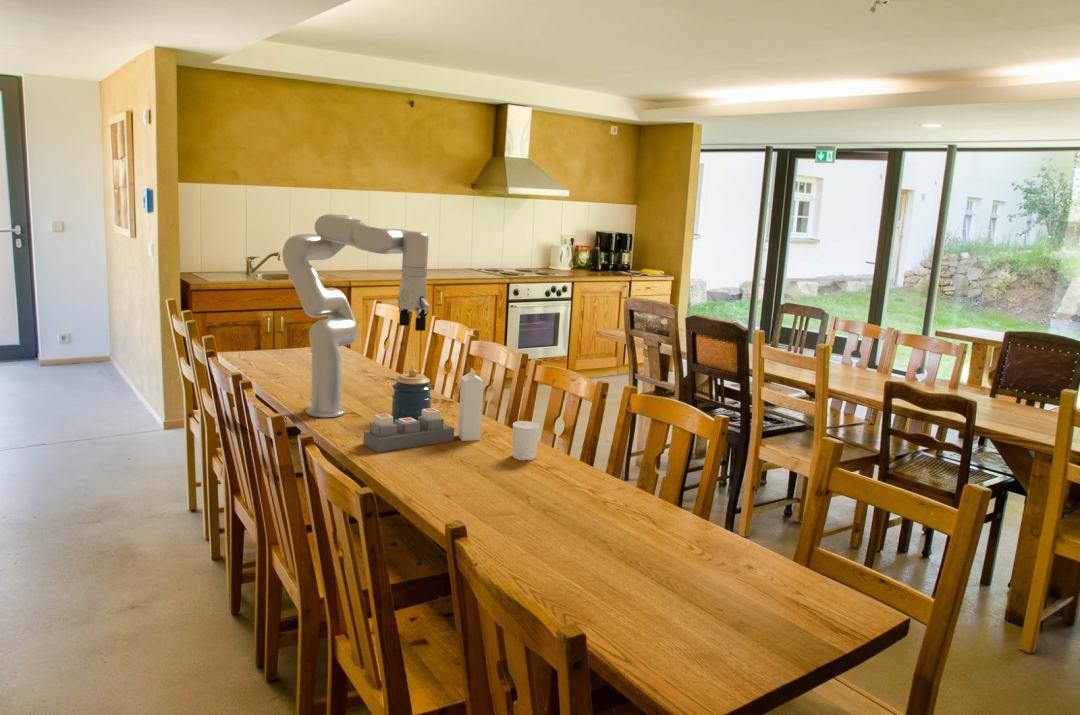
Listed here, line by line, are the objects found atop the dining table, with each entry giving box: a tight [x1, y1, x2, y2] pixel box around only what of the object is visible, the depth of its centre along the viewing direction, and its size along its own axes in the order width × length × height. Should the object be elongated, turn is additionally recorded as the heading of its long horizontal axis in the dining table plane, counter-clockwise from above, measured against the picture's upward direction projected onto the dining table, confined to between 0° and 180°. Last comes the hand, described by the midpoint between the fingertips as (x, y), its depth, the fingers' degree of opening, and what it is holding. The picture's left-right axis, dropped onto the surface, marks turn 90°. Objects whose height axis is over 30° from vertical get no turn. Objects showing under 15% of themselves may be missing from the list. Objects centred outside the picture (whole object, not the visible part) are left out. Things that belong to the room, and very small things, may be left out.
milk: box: [457, 367, 485, 442], centre depth 239 cm, size 6×6×22 cm
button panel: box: [362, 416, 455, 453], centre depth 231 cm, size 9×26×7 cm, turn 130°
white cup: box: [512, 420, 541, 461], centre depth 225 cm, size 8×8×10 cm
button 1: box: [373, 413, 394, 427], centre depth 224 cm, size 4×4×3 cm
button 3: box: [421, 407, 441, 421], centre depth 235 cm, size 4×4×3 cm
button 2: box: [398, 417, 417, 424], centre depth 230 cm, size 4×4×3 cm
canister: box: [390, 368, 433, 423], centre depth 253 cm, size 13×13×18 cm
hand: (412, 327), depth 236 cm, fingers open, 9 cm apart
